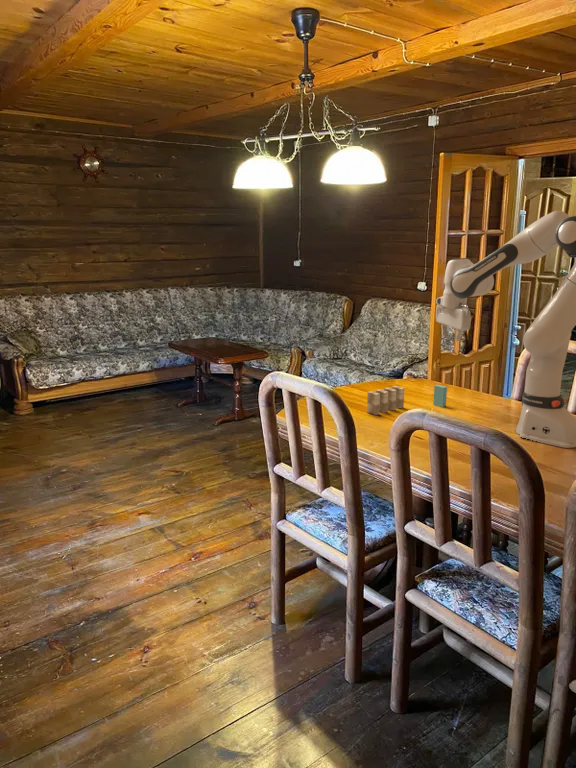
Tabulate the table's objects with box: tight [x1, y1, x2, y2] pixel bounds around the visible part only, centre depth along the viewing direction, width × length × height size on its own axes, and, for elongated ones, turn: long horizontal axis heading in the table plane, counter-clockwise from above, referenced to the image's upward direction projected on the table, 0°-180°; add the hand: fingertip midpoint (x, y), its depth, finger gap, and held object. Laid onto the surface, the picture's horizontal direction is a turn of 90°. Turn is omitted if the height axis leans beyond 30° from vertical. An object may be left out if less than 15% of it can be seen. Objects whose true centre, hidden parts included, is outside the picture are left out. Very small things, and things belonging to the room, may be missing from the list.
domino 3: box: [383, 387, 397, 411], centre depth 230 cm, size 5×2×8 cm, turn 37°
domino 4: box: [391, 385, 405, 409], centre depth 232 cm, size 5×2×8 cm, turn 37°
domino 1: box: [366, 391, 380, 416], centre depth 225 cm, size 5×2×8 cm, turn 37°
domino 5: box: [433, 384, 448, 408], centre depth 234 cm, size 5×2×8 cm, turn 37°
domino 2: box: [375, 389, 388, 414], centre depth 227 cm, size 5×2×8 cm, turn 37°
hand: (451, 338), depth 226 cm, fingers open, 8 cm apart
